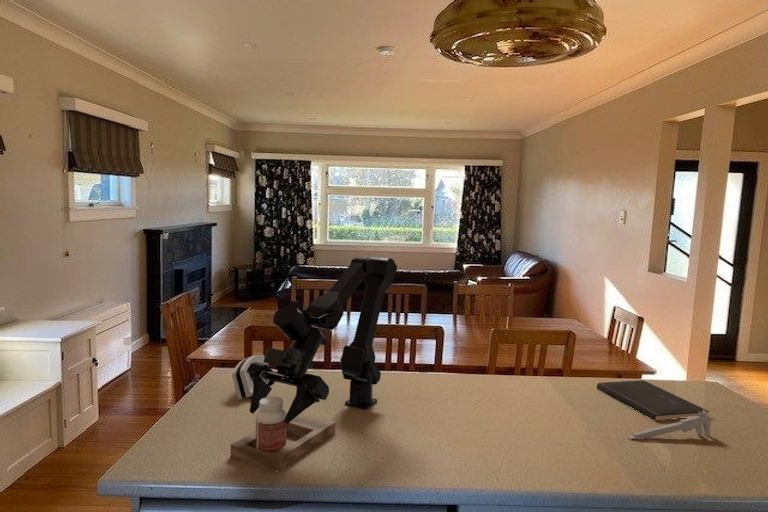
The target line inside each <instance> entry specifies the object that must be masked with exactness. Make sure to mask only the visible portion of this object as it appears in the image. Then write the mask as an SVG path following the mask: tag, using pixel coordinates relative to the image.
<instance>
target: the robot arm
mask: <svg viewBox="0 0 768 512" xmlns="http://www.w3.org/2000/svg"><path fill="white" fill-rule="evenodd" d="M397 271H398V265H397V264H396V262H395V260H394V259H393V258H390V257H380V256H370V257H365V256H364V257H362V256H356V257H353V258H352V259H351V261H350V263H349V266H348V267H347V268H346V269H345V271H344V272H343V273H342V274H341V276H340V277H339V278H338V279H337V281H336V282H335V283H334V284H333V286H332V287H331V288H330V289H329V290H328V291H327V292H326V293H325V294H322V295H320V296H318V297H316V298H315V299H314V300H313V301H312V302H310V303H309V305H308V306H307V307H306V308H304V307H302V304H301V302H299V301H298V300H290V302H289V303H288V304H285V305H283V306H281V307H280V308H278V310H276V311H275V313H274V314H273V317H272V320H273V323H274V325H275V326H276V327H277V328H278V329H279V330H280V331H281V332H282V334H284V336H285V337H286V338H287V339H288V340H290V341H292V343H291V345H290V347H287V346H286V347H284V348H283V349H276V348H273V347H267V348H266V351H265V355H264V356H265V358H264V361H263V362H264V363H268V365H267V364H262V363H258V362H253V363H251V364H250V366H249V367H248V369H247V371H246V372H247V373H248V374H249V377H250V378H251V379H252V381H253V394H252V396H251V402H250V405H249V406H250V407H249V412H250V413H251V414H253V415H254V414H255V412H256V411H257V410H258V409H260V407H259V402H260V400H261V399H263V398H266V397H268V395H270V392H271V391H272V389H273V388H272V386H273V385H274V384H275V383H276V382H277V383H278V384H279V383H280V384H283V385H288V386H292V387H296V391H295V397H294V399H293V401H292V403H291V404H290V406H289V409H288V411H287V412H286V417H285V420H284V422H285V423H286V424H288V423H289V422H291V421H292V420H293V419H294V418H295V417H297V416H298V415H299V414H300V413H303V412H304V411H305V410H307V408H310V406H312V405H313V404H315V403H319V402H320V400H322V401H326V400H327V397H328V396H329V393H330V387H329V385H328V384H327V383H326V382H325V381H324V379H323V378H322V377H321V376H320V375H315V374H311V373H307V372H308V371H309V368H311V369H313V368H314V366H315V363H314V361H313V360H314V358H315V355H316V354H317V352H318V350H319V348H320V346H328V340H327V336H326V333H325V332H321V331H320V329H321V330H322V329H323V330H325V331H333V330H335V328H337V326H338V324H339V323H340V321H341V320H342V318H343V316H344V306H346V303H347V302H348V301H349V300H350V298H351V297H352V296H353V294H354V293H355V291H357V288H359V286H360V285H361V283H362V282H363V281H364V283H365V286H366V289H365V293H364V296H363V301H362V304H361V310H360V312H359V316H358V321H357V325H356V329H355V334H354V337H353V339H352V340H353V341H352V342H351V343H350V344H348V345H344V347H343V348H342V353H341V354H342V355H341V357H340V359H339V360H340V369H341V372H342V377H343V379H344V380H348V381H350V382H349V399H347V400H345V401H344V404H345V405H348V406H351V407H355V408H358V409H359V408H360V409H363V410H365V409H366V410H367V409H368V408H369V407H371V406H373V405H374V404H376V403H377V402H378V398H375V397H374V398H373V386H374V385H378V382H380V380H381V374H382V373H381V370H379V368H378V367H377V365H375V362H376V353H375V351H374V347H373V343H374V338H375V334H376V330H377V329H376V328H377V325H378V323H379V321H378V320H379V316H380V313H381V310H382V309H381V308H382V304H383V300H384V297H385V293H386V291H387V290H388V289H390V286H391V285H392V284H393V283H394V280H395V277H396V274H397ZM269 364H272V368H273V369H274V370H276V371H273V370H272V369H271V367H270V366H269ZM271 385H272V386H271ZM270 386H271V387H270Z"/></svg>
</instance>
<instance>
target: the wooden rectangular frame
mask: <svg viewBox="0 0 768 512" xmlns="http://www.w3.org/2000/svg"><path fill="white" fill-rule="evenodd" d="M286 432H287V433H286V434H289V433H290V435H293V434H294V435H293V436H296V435H297V436H296V437H299V436H301V437H300V438H299V439H297V440H296V441H294V442H292V443H291V444H289V445H287V444H286V445H285V446H283V447H281V448H280V449H278V450H277V451H275V452H273V453H272V454H271V453H268V452H265V451H262V450H259V449H256V430H255V431H254V432H252V433H251V432H250V433H249V434H247V435H246V436H244V437H242V438H240V439H239V440H236V441H234V442H233V443H231V444H230V457H231V458H234V457H235V458H234V459H236V458H237V460H239V459H240V461H242V460H244V461H243V462H245V461H246V462H245V463H248V462H249V463H248V464H250V463H252V464H251V465H253V464H254V465H253V466H256V465H257V467H259V466H261V467H260V468H262V467H264V468H263V469H265V468H267V469H270V470H273V471H275V472H274V473H277V472H276V471H278V470H279V471H281V470H282V469H284V468H285V467H287V466H288V465H290V464H291V463H293V462H294V461H295V459H296V460H297V459H299V458H300V457H302V456H303V455H305V454H306V453H308V452H309V451H310V450H312V449H313V448H314V447H316V446H319V444H321V443H323V441H325V440H326V439H328V438H330V437H331V436H332V435H335V433H336V421H334V420H333V421H332V420H329V419H325V418H322V417H317V416H314V415H311V414H307V413H303V412H301V413H300V414H299V415H298V416H297V417H295V418H294V419H293V420H292V421H291V422H289V423H288V424H286ZM301 455H302V456H301ZM298 457H299V458H298ZM293 460H294V461H293ZM292 461H293V462H292ZM289 463H290V464H289ZM287 464H288V465H287ZM286 465H287V466H286ZM284 466H285V467H284ZM283 467H284V468H283ZM281 468H282V469H281ZM267 469H266V470H267ZM280 469H281V470H280ZM270 470H269V471H270ZM273 471H272V472H273ZM279 471H278V472H279Z"/></svg>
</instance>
